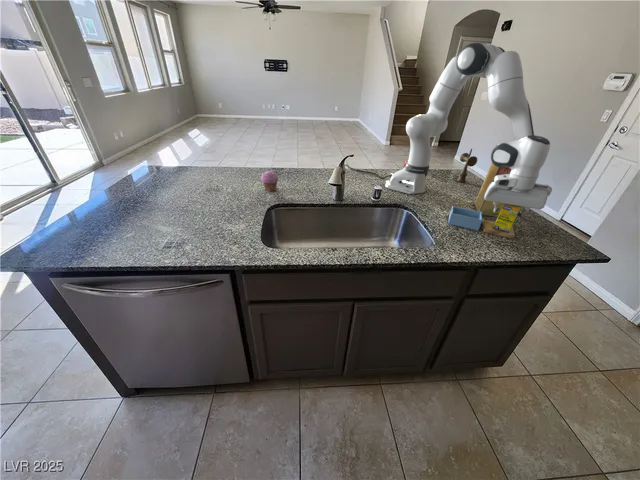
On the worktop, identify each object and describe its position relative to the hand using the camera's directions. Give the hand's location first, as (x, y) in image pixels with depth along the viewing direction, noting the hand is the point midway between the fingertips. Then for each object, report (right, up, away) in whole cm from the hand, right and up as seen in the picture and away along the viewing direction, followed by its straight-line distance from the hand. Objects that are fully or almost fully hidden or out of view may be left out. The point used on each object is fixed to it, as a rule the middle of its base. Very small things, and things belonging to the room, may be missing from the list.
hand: (507, 214), depth 109 cm
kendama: (+11, +26, +57) cm, 63 cm away
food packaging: (+5, +4, +22) cm, 23 cm away
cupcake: (-103, +16, +34) cm, 110 cm away
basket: (-13, -3, +10) cm, 16 cm away
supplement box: (0, -6, +3) cm, 7 cm away
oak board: (-1, -6, +5) cm, 8 cm away
